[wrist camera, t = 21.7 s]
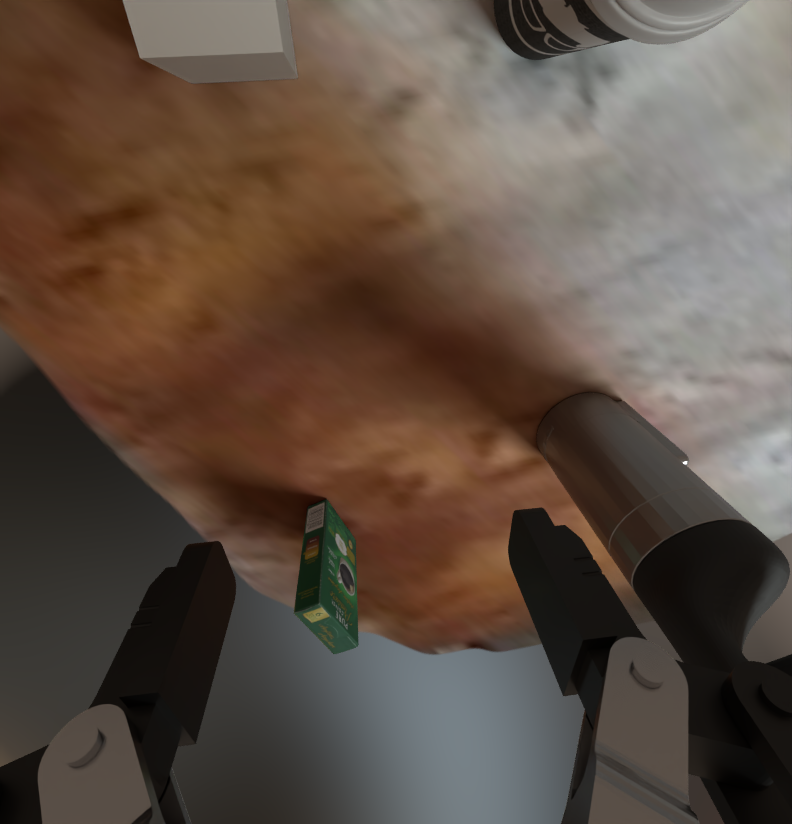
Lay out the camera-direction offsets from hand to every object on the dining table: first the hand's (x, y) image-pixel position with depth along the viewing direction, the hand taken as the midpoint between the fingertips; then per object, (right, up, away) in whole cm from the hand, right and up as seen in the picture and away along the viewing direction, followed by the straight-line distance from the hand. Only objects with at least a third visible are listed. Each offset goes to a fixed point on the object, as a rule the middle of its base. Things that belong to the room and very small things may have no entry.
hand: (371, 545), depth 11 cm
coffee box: (-7, -9, +36) cm, 38 cm away
